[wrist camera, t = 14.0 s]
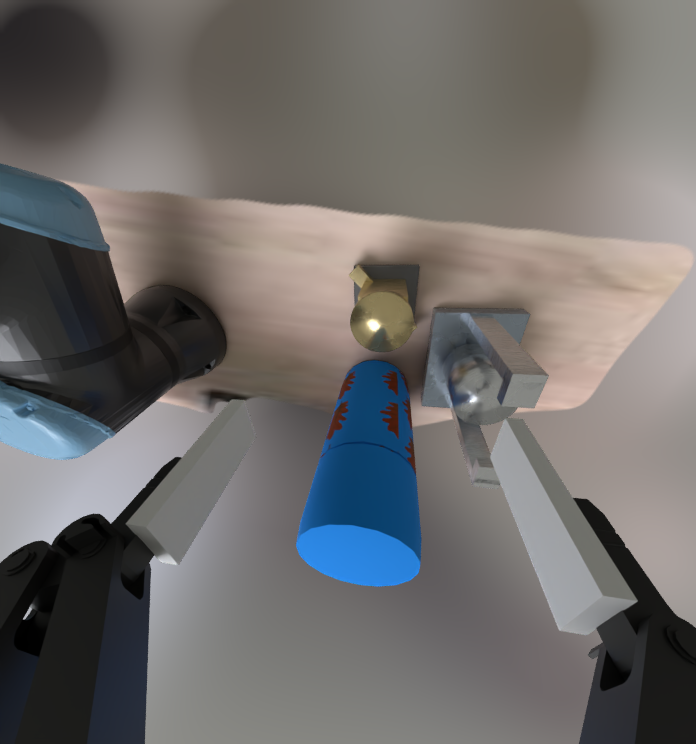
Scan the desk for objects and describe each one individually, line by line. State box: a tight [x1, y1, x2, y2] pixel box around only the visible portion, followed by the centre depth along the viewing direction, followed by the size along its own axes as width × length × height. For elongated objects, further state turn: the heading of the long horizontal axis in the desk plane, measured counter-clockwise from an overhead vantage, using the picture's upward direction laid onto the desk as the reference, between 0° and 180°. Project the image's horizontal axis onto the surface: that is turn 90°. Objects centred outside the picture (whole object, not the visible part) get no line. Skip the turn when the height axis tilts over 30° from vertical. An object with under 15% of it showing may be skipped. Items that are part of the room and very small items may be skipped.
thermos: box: [296, 360, 421, 587], centre depth 32 cm, size 11×11×25 cm
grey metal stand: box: [421, 308, 549, 489], centre depth 31 cm, size 11×15×16 cm
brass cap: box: [349, 264, 417, 352], centre depth 30 cm, size 11×7×9 cm, turn 47°
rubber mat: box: [354, 265, 419, 318], centre depth 34 cm, size 8×8×1 cm
